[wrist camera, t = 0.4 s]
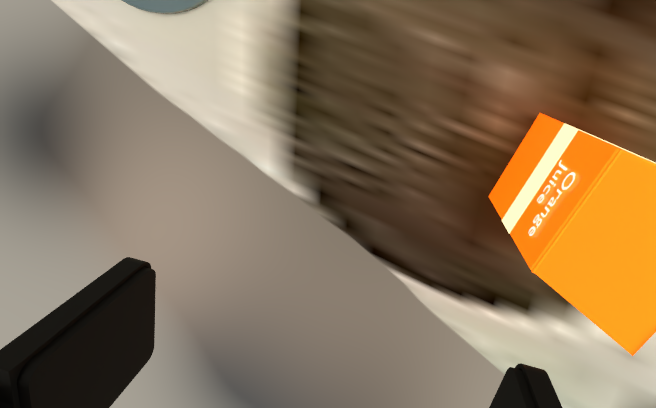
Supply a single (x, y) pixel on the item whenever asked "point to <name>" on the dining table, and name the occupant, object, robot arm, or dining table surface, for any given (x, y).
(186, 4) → the dish
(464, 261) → the dining table surface
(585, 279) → the orange juice
